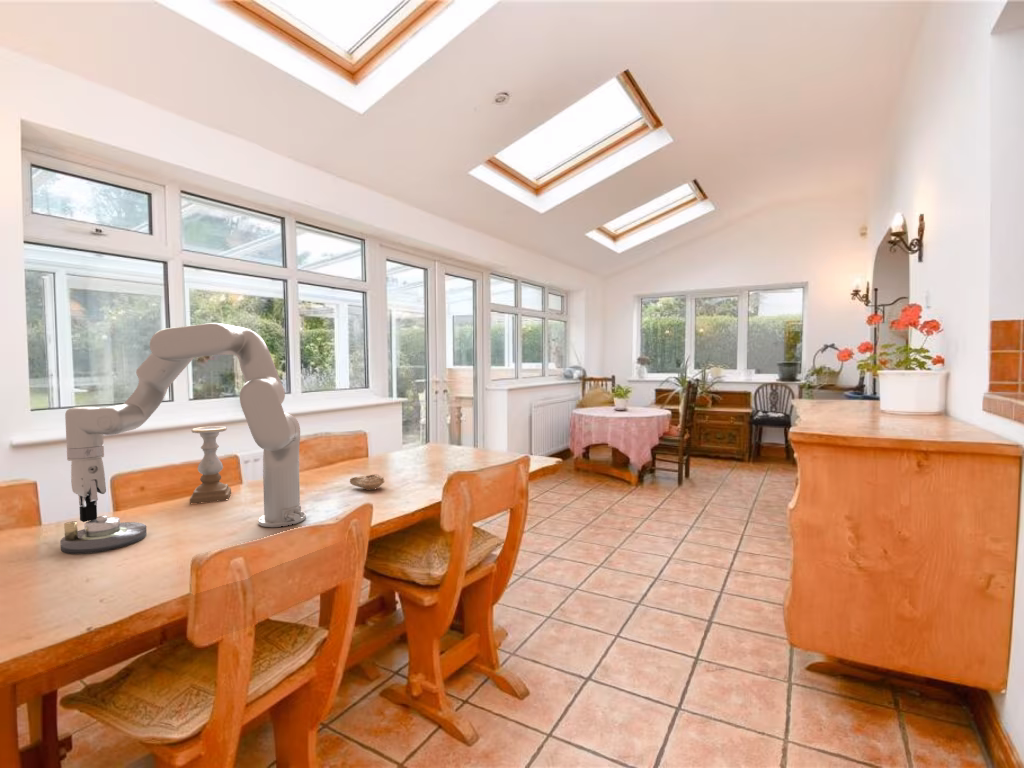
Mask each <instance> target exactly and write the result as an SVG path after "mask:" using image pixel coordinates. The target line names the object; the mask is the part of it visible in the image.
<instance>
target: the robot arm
mask: <svg viewBox="0 0 1024 768" xmlns="http://www.w3.org/2000/svg"><path fill="white" fill-rule="evenodd" d="M149 349H150V351H151V353H150V354H149V355H148V356H147V358H146V359H144V361H143V362H142V363H141V364H140V365H139V366H138V368H137V369H136V371H135V373H136V376H137V378H138V384H137V386H136V388H135V390H134V391H133V392H132V393H131V395H130V396H129V397H128V398H127V399H126V401H125V402H123V404H117V405H113V406H107V407H97V406H76V407H71V408H68V409H67V410H66V411H65V415H64V417H65V418H64V419H65V439H66V442H65V443H66V458H67V459H66V460H67V461H68V462H69V461H70V462H71V465H70V468H71V469H70V474H71V475H70V478H71V483H70V484H71V491H72V492H73V494H76V495H77V496H78V503H79V520H80V522H83V523H86V522H88V521H91V520H95V519H97V517H98V510H97V509H98V506H97V505H98V503H97V502H98V500H99V497H98V494H101V495H104V494H106V493H107V485H106V475H105V467H104V462H103V458H105V447H104V445H105V444H104V435H105V436H113V435H118V434H122V433H125V432H129V431H133V430H136V429H138V428H140V427H141V426H142V425H144V424H145V423H146V421H147V420H148V419H150V417H151V416H152V415H153V414H154V413H155V411H156V410H157V409H158V408H159V407H160V405H161V404H162V402H163V401H164V398H165V396H166V394H167V392H168V389H169V387H170V386H171V385H172V384H173V382H174V381H175V380H176V379H177V378H178V377H179V375H181V373H183V371H184V370H185V369H186V368H187V366H189V364H190V363H191V362H192V360H194V358H201V357H202V358H203V357H209V356H230V355H231V356H236V357H237V359H238V361H239V367H240V370H241V373H242V375H243V379H244V380H245V384H243V386H242V387H241V389H240V392H239V403H240V406H241V409H242V410H241V411H242V412H243V415H244V418H245V420H246V423H247V425H248V428H249V430H250V431H249V432H250V433H251V436H252V439H253V440H254V441H255V444H256V445H257V446H258V447H259V448H261V449H262V450H263V454H262V472H263V473H262V476H263V482H262V483H263V515H261V516H260V517H259V518H258V520H257V522H258V525H259V526H261V527H264V528H265V527H266V528H282V527H281V526H283V527H287V526H288V525H289V526H292V524H293V525H295V524H299V523H301V522H303V521H305V519H306V518H307V513H306V512H304V511H302V505H301V494H300V493H301V492H300V441H301V427H300V422H299V421H298V419H297V418H296V417H295V416H294V415H293V414H290V413H288V412H285V411H284V408H283V405H282V404H283V402H284V401H285V397H286V393H285V389H284V386H283V383H282V381H281V379H280V377H279V374H278V370H277V367H276V366H275V363H274V360H273V358H272V355H271V352H270V350H269V348H268V346H267V344H266V342H265V340H264V339H263V338H262V337H261V336H260V335H259V334H258V333H256V332H255V331H253V330H251V329H249V328H246V327H242V326H236V325H231V324H227V323H219V322H210V323H209V322H207V323H200V324H193V325H192V324H191V325H185V326H176V327H167V328H164V329H160V330H158V331H156V332H155V333H154V334H153V335H152V337H151V338H150V341H149Z"/></svg>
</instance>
